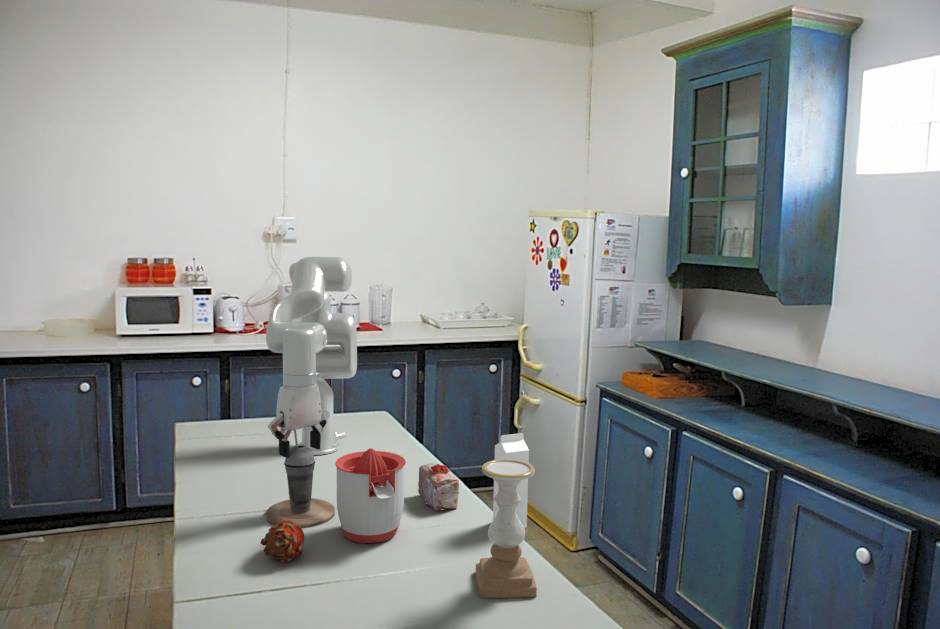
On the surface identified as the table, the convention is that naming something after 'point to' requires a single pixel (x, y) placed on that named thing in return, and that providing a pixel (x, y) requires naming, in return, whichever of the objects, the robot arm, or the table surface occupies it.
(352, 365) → the robot arm
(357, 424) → the table surface
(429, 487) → the food item
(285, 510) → the brown round plate
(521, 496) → the milk
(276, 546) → the dragon fruit
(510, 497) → the candle holder
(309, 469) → the beverage cup
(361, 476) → the citrus juicer
